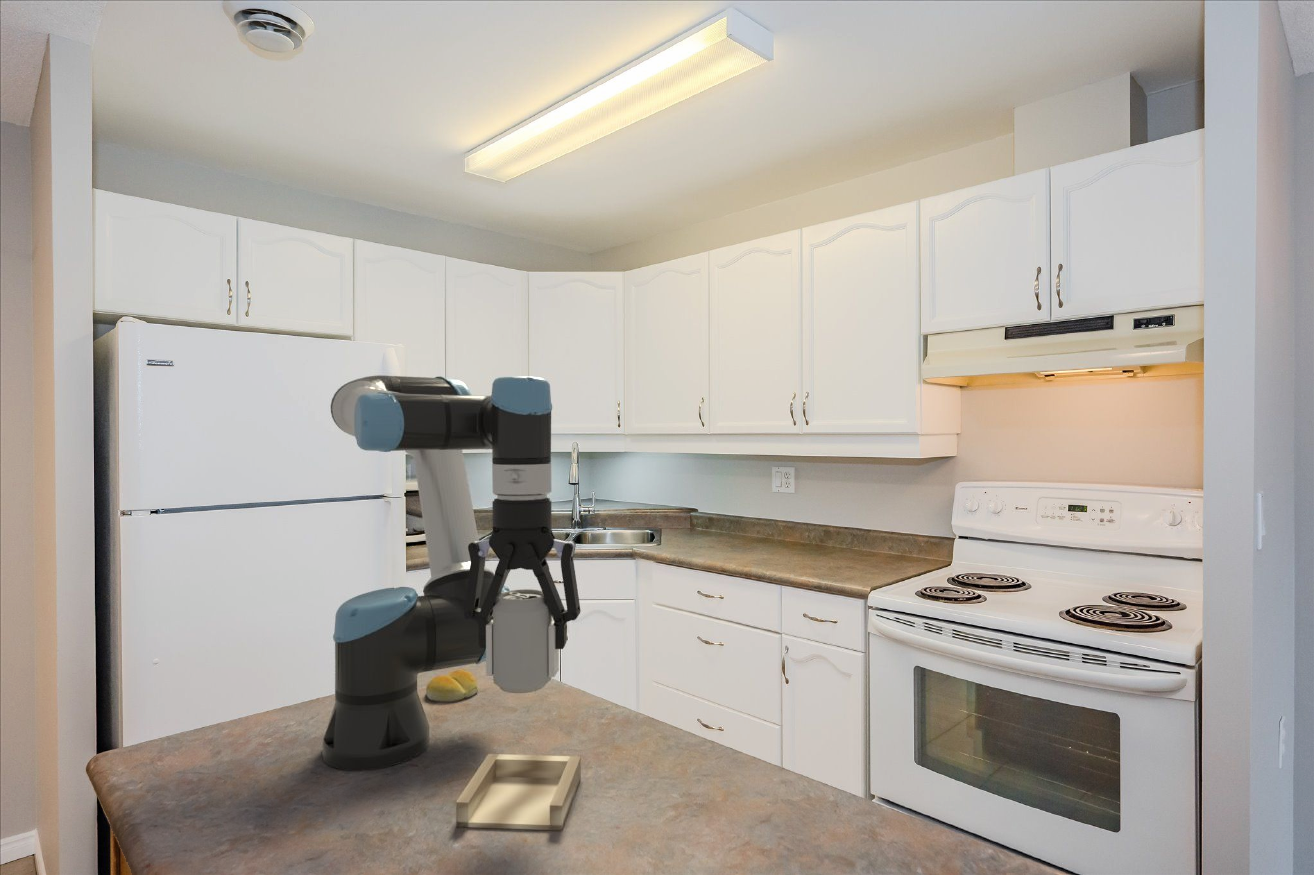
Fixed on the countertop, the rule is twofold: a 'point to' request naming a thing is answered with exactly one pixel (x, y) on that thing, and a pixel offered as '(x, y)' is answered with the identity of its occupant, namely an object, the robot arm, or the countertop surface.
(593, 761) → the countertop surface
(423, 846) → the countertop surface
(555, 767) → the can rest
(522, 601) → the can
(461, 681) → the bread roll
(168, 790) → the countertop surface
